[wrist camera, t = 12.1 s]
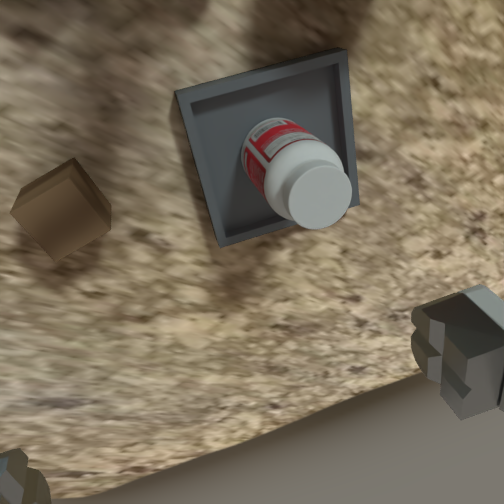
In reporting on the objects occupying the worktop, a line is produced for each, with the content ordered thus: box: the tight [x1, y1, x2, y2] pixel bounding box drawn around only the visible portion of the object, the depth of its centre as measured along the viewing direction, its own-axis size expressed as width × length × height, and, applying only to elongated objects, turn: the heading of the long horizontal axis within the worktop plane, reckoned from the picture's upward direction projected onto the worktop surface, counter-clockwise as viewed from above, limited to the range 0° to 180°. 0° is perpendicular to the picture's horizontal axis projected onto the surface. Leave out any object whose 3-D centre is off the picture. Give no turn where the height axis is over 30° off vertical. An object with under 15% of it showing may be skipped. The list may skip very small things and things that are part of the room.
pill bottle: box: [241, 118, 352, 229], centre depth 36 cm, size 6×6×11 cm
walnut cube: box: [10, 158, 111, 262], centre depth 37 cm, size 5×5×5 cm
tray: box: [175, 48, 360, 248], centre depth 40 cm, size 14×14×2 cm
